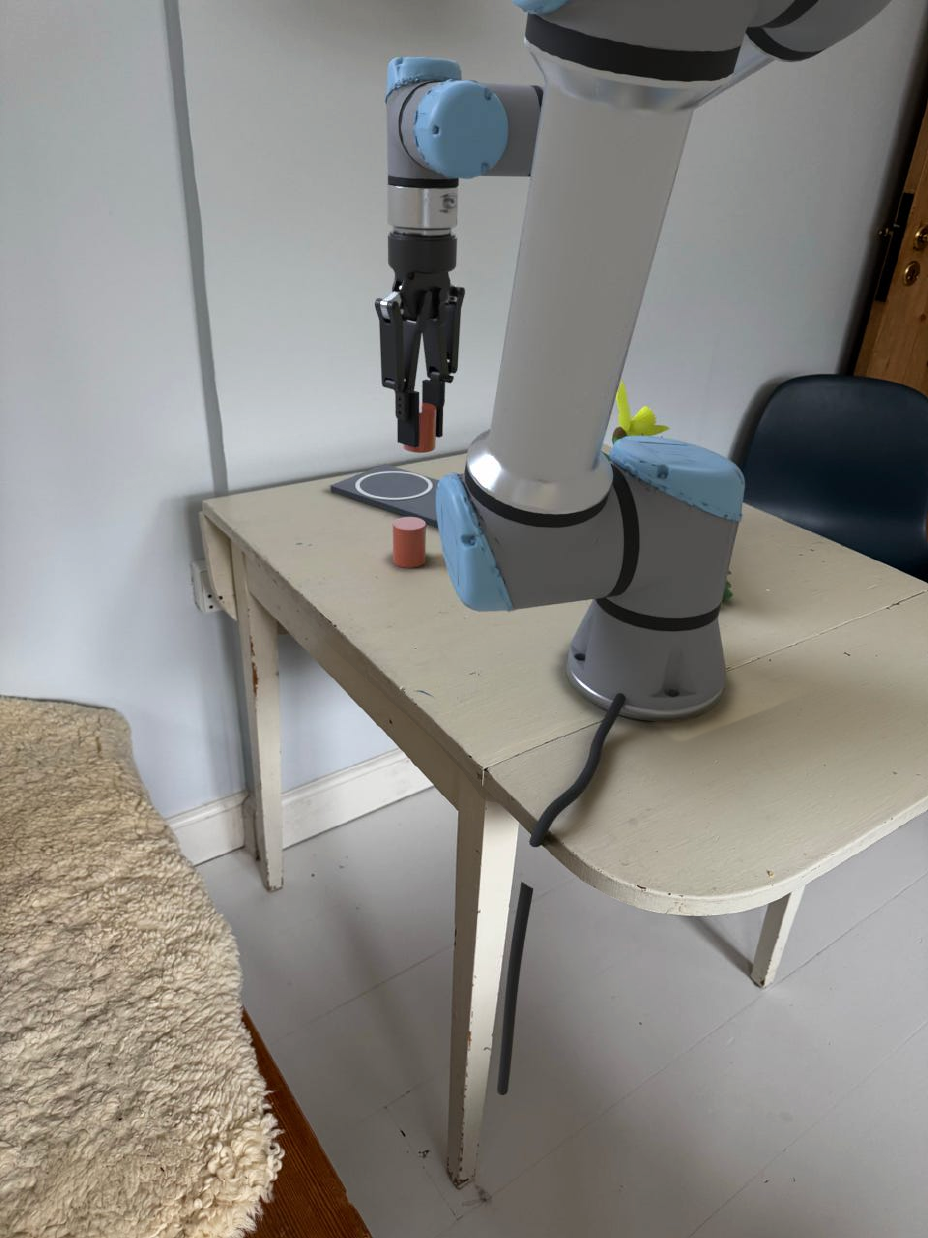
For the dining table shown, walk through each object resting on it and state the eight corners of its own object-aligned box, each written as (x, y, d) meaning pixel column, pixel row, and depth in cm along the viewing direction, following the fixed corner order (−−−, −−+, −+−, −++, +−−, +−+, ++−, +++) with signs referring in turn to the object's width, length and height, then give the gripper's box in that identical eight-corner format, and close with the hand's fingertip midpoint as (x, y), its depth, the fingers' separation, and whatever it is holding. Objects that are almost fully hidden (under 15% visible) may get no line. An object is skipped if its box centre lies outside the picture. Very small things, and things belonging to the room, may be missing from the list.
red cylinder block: (411, 571, 101) (411, 533, 98) (386, 561, 103) (385, 524, 100) (432, 559, 104) (432, 522, 101) (407, 550, 106) (407, 513, 103)
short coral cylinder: (421, 455, 101) (422, 414, 98) (396, 447, 103) (396, 407, 100) (441, 446, 104) (443, 407, 101) (416, 439, 106) (417, 399, 103)
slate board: (463, 536, 110) (464, 528, 109) (330, 491, 122) (330, 484, 121) (513, 509, 118) (514, 501, 118) (384, 469, 130) (384, 462, 130)
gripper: (398, 240, 83) (398, 465, 95) (495, 227, 95) (485, 429, 107) (342, 232, 86) (349, 450, 98) (443, 220, 98) (438, 416, 110)
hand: (420, 438), depth 103 cm, fingers closed on short coral cylinder, 4 cm apart
